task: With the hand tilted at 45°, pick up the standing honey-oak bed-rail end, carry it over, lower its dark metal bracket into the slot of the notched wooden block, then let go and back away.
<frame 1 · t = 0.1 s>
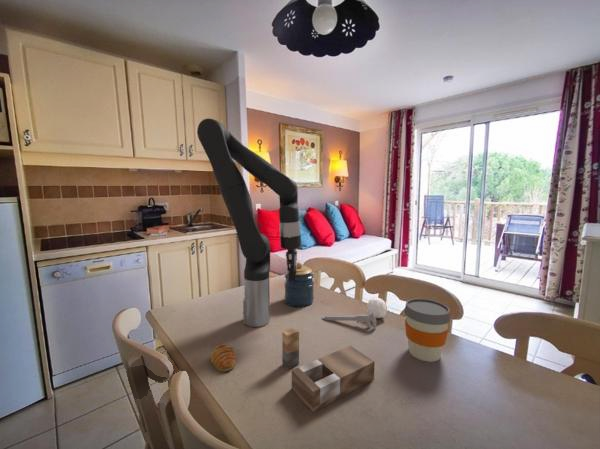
hand: (293, 277, 103), 17 cm above the table, tool pointing down, fingers open, 8 cm apart
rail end: (290, 364, 80), on the table
notched wooden block: (333, 383, 72), on the table
caliper: (347, 324, 105), on the table
pastry: (224, 362, 81), on the table
reusable coffee cup: (424, 353, 86), on the table
canister: (299, 301, 125), on the table
geometric ball: (376, 317, 110), on the table
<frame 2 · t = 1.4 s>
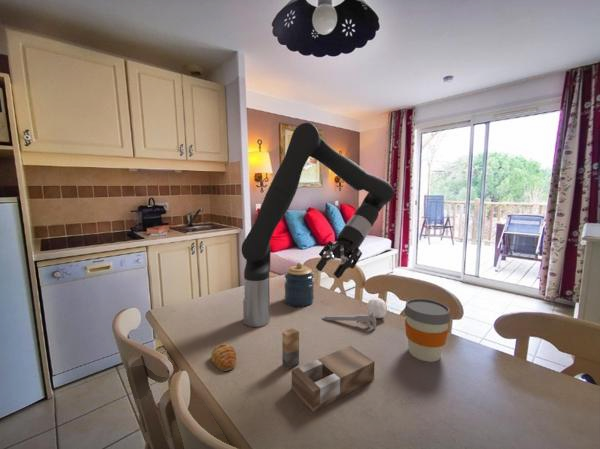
hand: (326, 273, 85), 25 cm above the table, tool tilted 45°, fingers open, 8 cm apart
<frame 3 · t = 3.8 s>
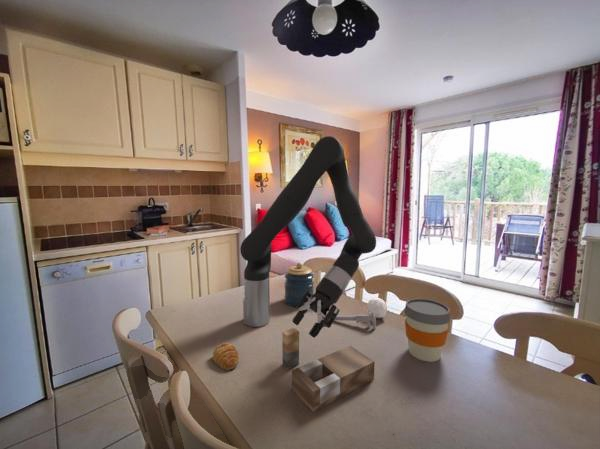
hand: (302, 329, 81), 9 cm above the table, tool tilted 45°, fingers open, 8 cm apart
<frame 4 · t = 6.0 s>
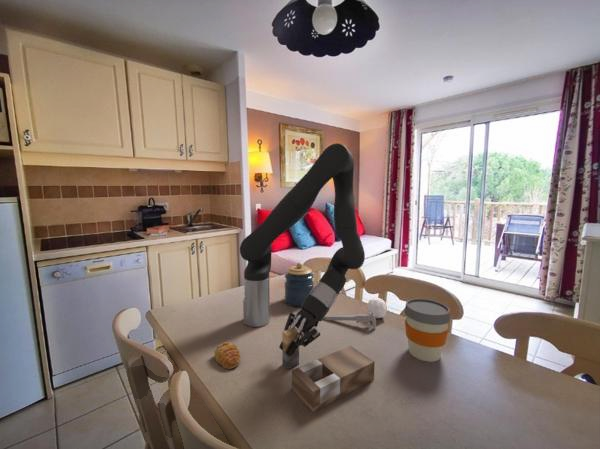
hand: (284, 352, 78), 4 cm above the table, tool tilted 45°, fingers closed on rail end, 2 cm apart
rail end: (290, 364, 80), on the table, touching gripper
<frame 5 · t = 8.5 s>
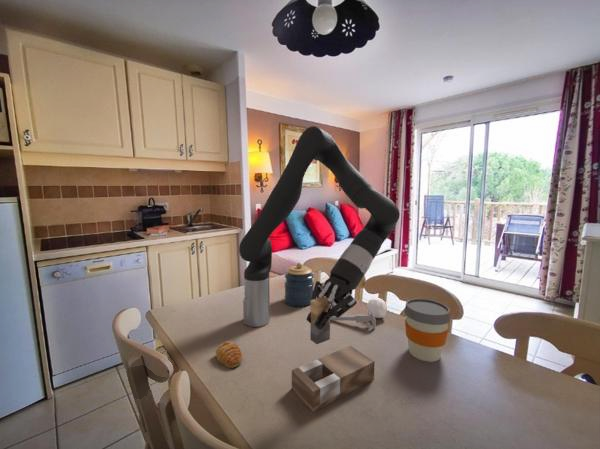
hand: (313, 324, 66), 18 cm above the table, tool tilted 45°, fingers closed on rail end, 2 cm apart
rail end: (320, 339, 68), point 14 cm above the table, touching gripper
when the fingers open (8 cm above the table, at t = 11.1 s): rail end drops 2 cm, resting on notched wooden block.
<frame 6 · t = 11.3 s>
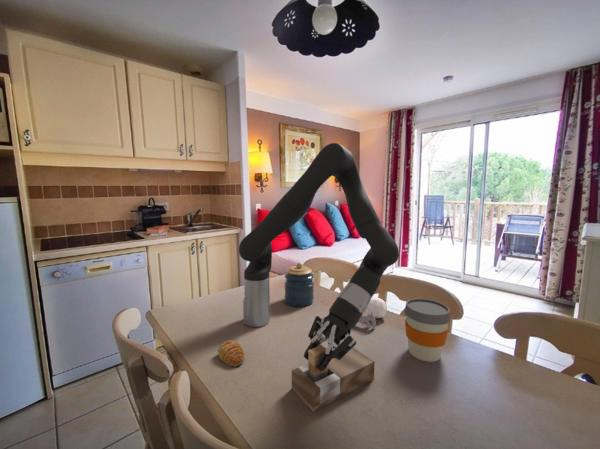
hand: (312, 363, 67), 8 cm above the table, tool tilted 45°, fingers open, 4 cm apart
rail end: (318, 387, 69), point 1 cm above the table, touching notched wooden block
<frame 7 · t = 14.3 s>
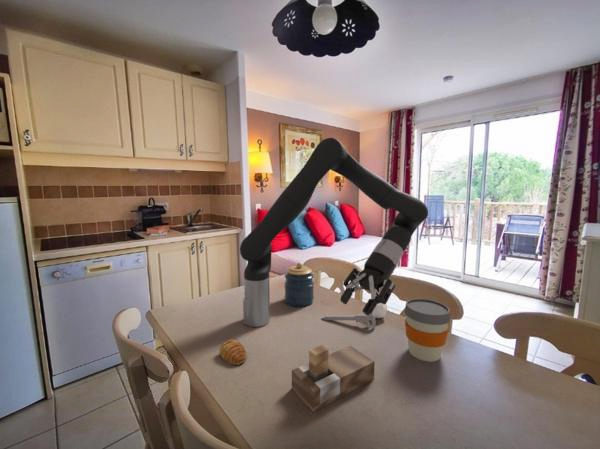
hand: (353, 307, 74), 19 cm above the table, tool tilted 45°, fingers open, 8 cm apart
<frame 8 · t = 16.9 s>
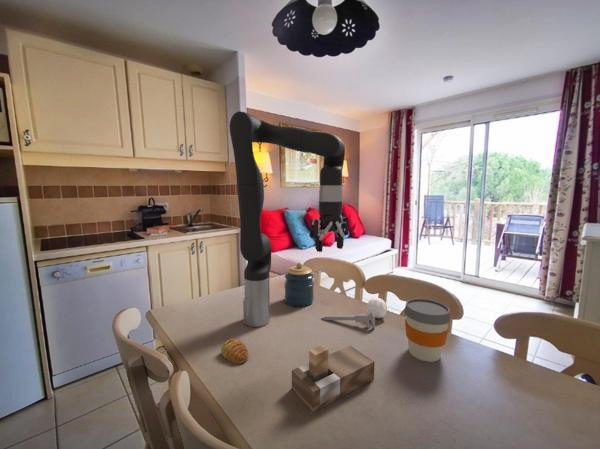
hand: (329, 249, 91), 30 cm above the table, tool pointing down, fingers open, 8 cm apart
at the end: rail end 0.1 cm from the target spot on the notched wooden block, point 1.0 cm above the notched wooden block's base; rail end tilted 0°; the gripper is holding nothing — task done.
